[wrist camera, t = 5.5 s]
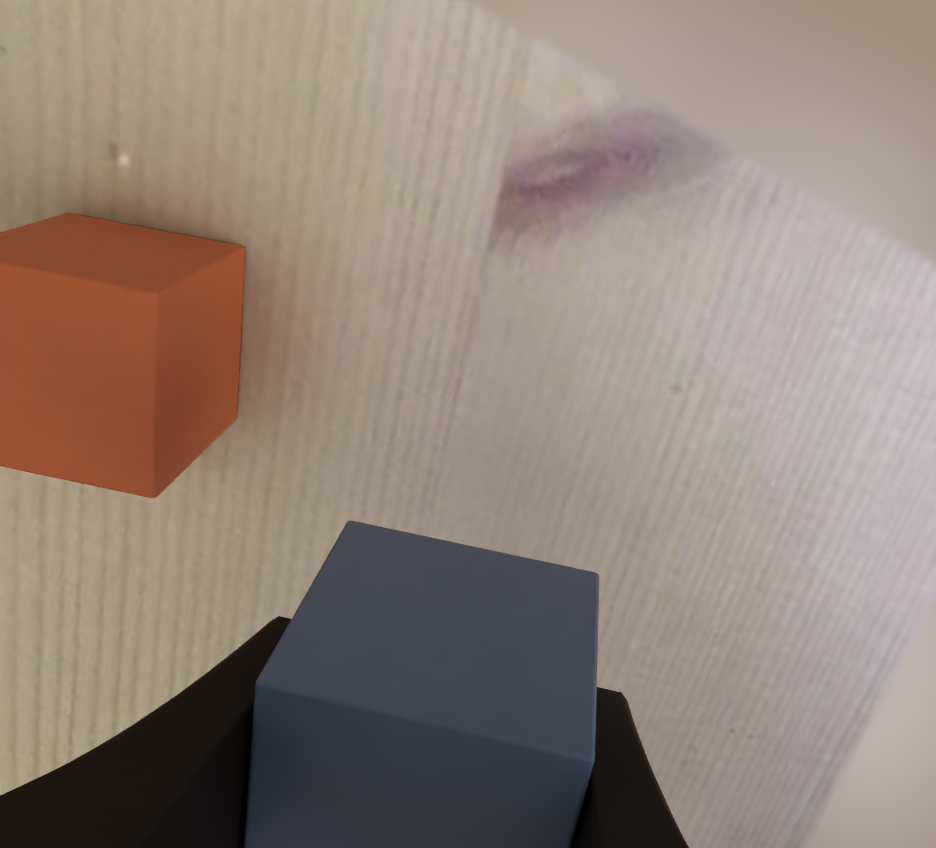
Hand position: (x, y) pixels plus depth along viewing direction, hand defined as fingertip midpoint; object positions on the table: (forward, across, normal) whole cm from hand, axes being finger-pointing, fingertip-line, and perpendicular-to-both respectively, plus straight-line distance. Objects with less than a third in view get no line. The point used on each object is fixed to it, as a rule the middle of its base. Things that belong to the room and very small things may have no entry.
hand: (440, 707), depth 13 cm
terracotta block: (+7, +8, -2) cm, 11 cm away
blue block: (+1, 0, 0) cm, 1 cm away
